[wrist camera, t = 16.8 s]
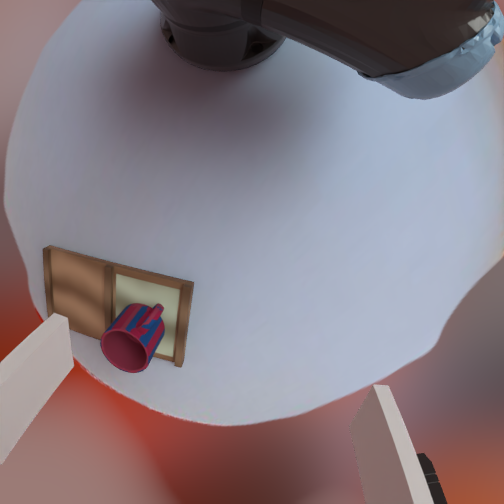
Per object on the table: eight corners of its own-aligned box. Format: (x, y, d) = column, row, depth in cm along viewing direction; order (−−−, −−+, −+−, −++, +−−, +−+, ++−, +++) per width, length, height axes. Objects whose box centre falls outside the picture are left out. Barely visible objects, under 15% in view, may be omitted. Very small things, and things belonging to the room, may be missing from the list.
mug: (112, 318, 41) (91, 344, 35) (155, 279, 39) (135, 303, 32) (145, 351, 42) (129, 380, 36) (191, 316, 40) (178, 346, 34)
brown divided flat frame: (49, 245, 39) (38, 251, 36) (194, 282, 40) (188, 292, 37) (55, 327, 44) (46, 335, 41) (183, 368, 44) (178, 380, 41)
